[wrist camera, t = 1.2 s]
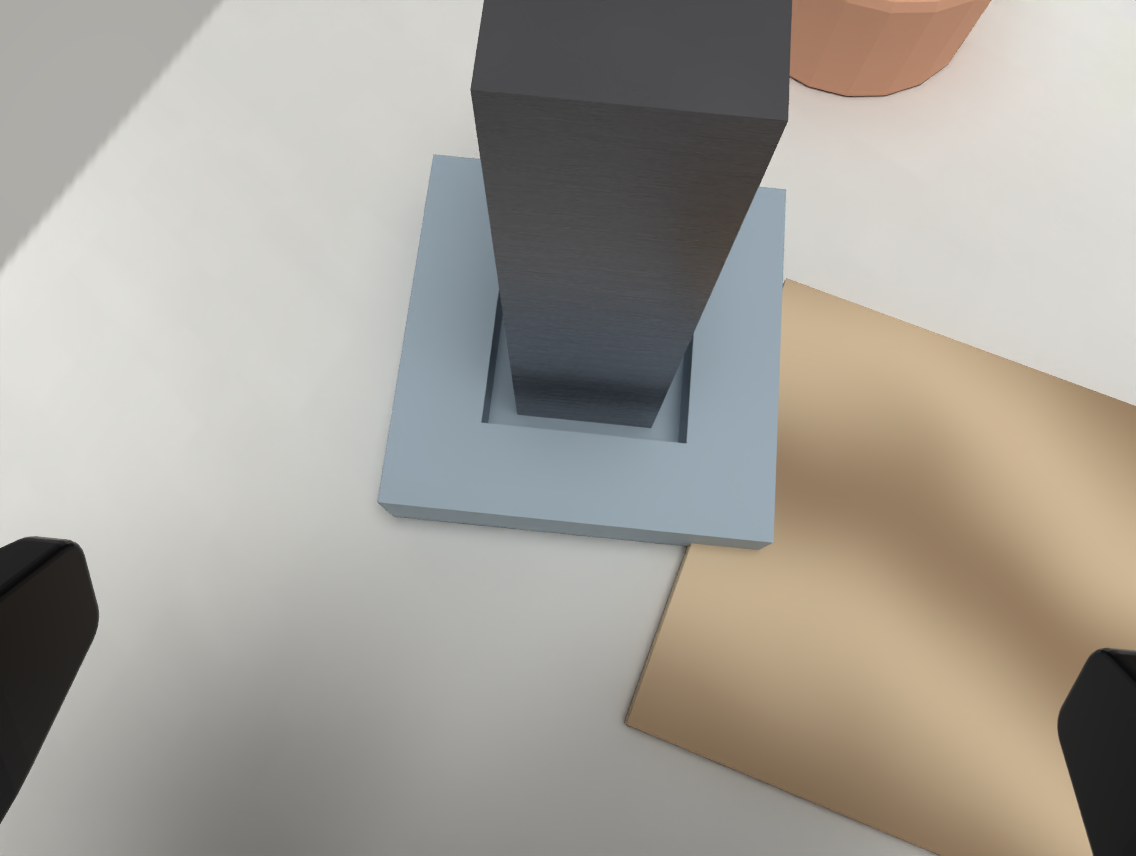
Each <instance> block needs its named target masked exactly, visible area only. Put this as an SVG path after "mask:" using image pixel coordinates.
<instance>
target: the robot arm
mask: <svg viewBox="0 0 1136 856" xmlns="http://www.w3.org/2000/svg"><path fill="white" fill-rule="evenodd" d="M98 622H99V609H98V604H97V600H96V597H95V593H94V589H93V585H92V581H91V578H90V574H89V570H88V566H87V562H86V559H85V555H84V552H83V550H82V548H81V547H80V546H79V545H78V544H77V543H76V542H73V541H71V540H67V539H57V538H47V537H38V536H34V537H25V538H22V539H19V540H17V541H15V542H13V543H10V544H8V545H6V546H4V547H2V548H0V823H1V822H2V820H3V818H4V817H5V815H6V813H7V812H8V810H9V808H10V806H11V805H12V803H13V801H14V800H15V798H16V796H17V794H18V792H19V791H20V789H21V787H22V785H23V783H24V781H25V779H26V777H27V775H28V773H29V771H30V769H31V768H32V765H33V763H34V761H35V759H36V757H37V755H38V753H39V751H40V749H41V747H42V745H43V743H44V741H45V739H46V737H47V734H48V732H49V730H50V728H51V726H52V724H53V722H54V720H55V718H56V716H57V714H58V712H59V710H60V708H61V706H62V703H63V701H64V699H65V697H66V695H67V693H68V691H69V689H70V687H71V685H72V683H73V681H74V679H75V677H76V675H77V672H78V670H79V668H80V666H81V664H82V662H83V660H84V658H85V656H86V654H87V652H88V650H89V648H90V646H91V644H92V641H93V639H94V637H95V634H96V631H97V628H98ZM1057 730H1058V737H1059V742H1060V745H1061V749H1062V752H1063V755H1064V759H1065V762H1066V766H1067V769H1068V772H1069V776H1070V779H1071V783H1072V786H1073V789H1074V793H1075V796H1076V800H1077V803H1078V806H1079V810H1080V813H1081V817H1082V820H1083V823H1084V827H1085V830H1086V834H1087V837H1088V840H1089V844H1090V847H1091V851H1092V854H1093V856H1136V650H1128V649H1119V648H1109V647H1106V648H1100V649H1097V650H1096V651H1094V652H1093V653H1092V654H1090V656H1089V657H1088V659H1087V660H1086V662H1085V664H1084V666H1083V668H1082V669H1081V671H1080V673H1079V675H1078V677H1077V679H1076V680H1075V682H1074V684H1073V686H1072V688H1071V690H1070V691H1069V693H1068V695H1067V697H1066V699H1065V700H1064V702H1063V704H1062V706H1061V708H1060V711H1059V715H1058V721H1057Z"/></svg>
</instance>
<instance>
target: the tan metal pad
mask: <svg viewBox="0 0 1136 856" xmlns="http://www.w3.org/2000/svg"><path fill="white" fill-rule="evenodd" d="M1106 647H1109V648H1119V649H1128V650H1136V406H1134V405H1131V404H1128V403H1126V402H1123V401H1120V400H1117V399H1115V398H1112V397H1109V396H1107V395H1104V394H1101V393H1098V392H1096V391H1093V390H1090V389H1087V388H1085V387H1082V386H1079V385H1076V384H1074V383H1071V382H1068V381H1066V380H1063V379H1060V378H1057V377H1055V376H1052V375H1049V374H1046V373H1044V372H1041V371H1038V370H1035V369H1033V368H1030V367H1027V366H1025V365H1022V364H1019V363H1016V362H1014V361H1011V360H1008V359H1005V358H1003V357H1000V356H997V355H994V354H992V353H989V352H986V351H984V350H981V349H978V348H975V347H973V346H970V345H967V344H964V343H962V342H959V341H956V340H953V339H951V338H948V337H945V336H943V335H940V334H937V333H934V332H932V331H929V330H926V329H923V328H921V327H918V326H915V325H913V324H910V323H907V322H904V321H902V320H899V319H896V318H893V317H891V316H888V315H885V314H882V313H880V312H877V311H874V310H872V309H869V308H866V307H863V306H861V305H858V304H855V303H852V302H850V301H847V300H844V299H841V298H839V297H836V296H833V295H831V294H828V293H825V292H822V291H820V290H817V289H814V288H811V287H809V286H806V285H803V284H800V283H798V282H795V281H792V280H790V279H787V278H786V280H785V281H784V283H783V288H782V316H781V344H780V373H779V401H778V429H777V457H776V485H775V514H774V542H773V543H772V544H770V545H768V546H766V547H764V548H762V549H760V550H753V549H743V548H733V547H723V546H714V545H704V544H694V543H691V544H690V545H689V546H688V547H687V549H686V552H685V555H684V558H683V561H682V563H681V566H680V569H679V572H678V575H677V577H676V580H675V583H674V586H673V588H672V591H671V594H670V597H669V600H668V602H667V605H666V608H665V611H664V614H663V616H662V619H661V622H660V625H659V627H658V630H657V633H656V636H655V639H654V641H653V644H652V647H651V650H650V652H649V655H648V658H647V661H646V664H645V666H644V669H643V672H642V675H641V678H640V680H639V683H638V686H637V689H636V691H635V694H634V697H633V700H632V703H631V705H630V708H629V711H628V714H627V717H626V719H625V722H624V723H625V724H626V725H628V726H631V727H633V728H636V729H638V730H640V731H643V732H645V733H648V734H650V735H652V736H655V737H657V738H660V739H662V740H664V741H667V742H669V743H672V744H674V745H676V746H679V747H681V748H684V749H686V750H688V751H691V752H693V753H696V754H698V755H700V756H703V757H705V758H707V759H710V760H712V761H715V762H717V763H719V764H722V765H724V766H727V767H729V768H731V769H734V770H736V771H739V772H741V773H743V774H746V775H748V776H751V777H753V778H755V779H758V780H760V781H763V782H765V783H767V784H770V785H772V786H775V787H777V788H779V789H782V790H784V791H787V792H789V793H791V794H794V795H796V796H799V797H801V798H803V799H806V800H808V801H811V802H813V803H815V804H818V805H820V806H823V807H825V808H827V809H830V810H832V811H835V812H837V813H839V814H842V815H844V816H847V817H849V818H851V819H854V820H856V821H859V822H861V823H863V824H866V825H868V826H871V827H873V828H875V829H878V830H880V831H883V832H885V833H887V834H890V835H892V836H895V837H897V838H899V839H902V840H904V841H906V842H909V843H911V844H914V845H916V846H918V847H921V848H923V849H926V850H928V851H930V852H933V853H935V854H938V855H940V856H1093V854H1092V851H1091V847H1090V844H1089V840H1088V837H1087V834H1086V830H1085V827H1084V823H1083V820H1082V817H1081V813H1080V810H1079V806H1078V803H1077V800H1076V796H1075V793H1074V789H1073V786H1072V783H1071V779H1070V776H1069V772H1068V769H1067V766H1066V762H1065V759H1064V755H1063V752H1062V749H1061V745H1060V742H1059V737H1058V730H1057V721H1058V715H1059V711H1060V708H1061V706H1062V704H1063V702H1064V700H1065V699H1066V697H1067V695H1068V693H1069V691H1070V690H1071V688H1072V686H1073V684H1074V682H1075V680H1076V679H1077V677H1078V675H1079V673H1080V671H1081V669H1082V668H1083V666H1084V664H1085V662H1086V660H1087V659H1088V657H1089V656H1090V654H1092V653H1093V652H1094V651H1096V650H1097V649H1100V648H1106Z"/></svg>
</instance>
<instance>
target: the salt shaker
mask: <svg viewBox="0 0 1136 856" xmlns="http://www.w3.org/2000/svg"><path fill="white" fill-rule="evenodd" d="M990 1H991V0H792V22H791V50H790V76H791V77H793V78H795V79H796V80H798V81H800V82H802V83H804V84H805V85H807V86H809V87H813V88H817V89H821V90H825V91H829V92H833V93H837V94H841V95H845V96H875V95H888V94H891V93H894V92H898V91H901V90H904V89H907V88H910V87H913V86H917V85H920V84H922V83H923V82H924V81H926V80H927V79H929V78H930V77H931V76H933V75H934V74H935V73H937V72H938V71H939V70H941V69H942V68H944V67H945V66H946V65H948V64H949V62H950V61H951V59H952V58H953V56H954V55H955V53H956V52H957V50H958V49H959V47H960V46H961V44H962V43H963V41H964V40H965V38H966V37H967V36H968V34H969V33H970V31H971V30H972V28H973V27H974V25H975V24H976V22H977V21H978V19H979V18H980V16H981V15H982V13H983V12H984V10H985V9H986V7H987V6H988V4H989V3H990Z"/></svg>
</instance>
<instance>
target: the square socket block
mask: <svg viewBox="0 0 1136 856" xmlns="http://www.w3.org/2000/svg"><path fill="white" fill-rule="evenodd" d="M785 203H786V189H777V188H766V187H758V189H757V192H756V194H755V196H754V198H753V201H752V203H751V205H750V207H749V210H748V212H747V214H746V216H745V219H744V221H743V223H742V225H741V228H740V230H739V232H738V234H737V237H736V239H735V241H734V243H733V246H732V248H731V250H730V252H729V255H728V257H727V259H726V261H725V264H724V266H723V268H722V270H721V273H720V275H719V277H718V279H717V282H716V284H715V286H714V288H713V291H712V293H711V295H710V297H709V300H708V302H707V304H706V306H705V309H704V311H703V313H702V315H701V318H700V320H699V322H698V324H697V327H696V329H695V331H694V334H693V336H692V338H691V340H690V343H689V345H688V347H687V349H686V352H685V354H684V356H683V358H682V361H681V363H680V365H679V367H678V370H677V372H676V374H675V376H674V379H673V381H672V383H671V385H670V388H669V390H668V392H667V394H666V397H665V399H664V401H663V403H662V406H661V408H660V410H659V412H658V415H657V417H656V419H655V421H654V424H653V426H652V428H643V427H634V426H624V425H614V424H604V423H594V422H584V421H574V420H564V419H555V418H545V417H535V416H525V415H517V410H516V403H515V396H514V389H513V382H512V375H511V368H510V361H509V354H508V347H507V340H506V333H505V326H504V319H503V312H502V305H501V298H500V291H499V284H498V277H497V270H496V264H495V257H494V250H493V243H492V236H491V229H490V222H489V215H488V208H487V201H486V194H485V187H484V180H483V173H482V166H481V159H474V158H464V157H454V156H443V155H433V161H432V167H431V173H430V180H429V186H428V192H427V198H426V204H425V211H424V217H423V223H422V229H421V235H420V242H419V248H418V254H417V260H416V266H415V273H414V279H413V285H412V291H411V297H410V304H409V310H408V316H407V322H406V328H405V334H404V341H403V347H402V353H401V359H400V365H399V372H398V378H397V384H396V390H395V396H394V403H393V409H392V415H391V421H390V427H389V434H388V440H387V446H386V452H385V458H384V465H383V471H382V477H381V483H380V489H379V495H378V503H379V504H380V505H381V506H382V507H384V508H385V509H386V510H387V511H388V512H389V513H390V514H392V515H393V516H397V517H406V518H416V519H426V520H436V521H445V522H455V523H465V524H475V525H485V526H494V527H504V528H514V529H524V530H533V531H543V532H553V533H563V534H572V535H582V536H592V537H602V538H611V539H621V540H631V541H641V542H651V543H660V544H670V545H680V546H689V545H690V544H691V543H694V544H704V545H714V546H723V547H733V548H743V549H753V550H760V549H762V548H764V547H766V546H768V545H770V544H772V543H773V542H774V514H775V485H776V457H777V429H778V401H779V373H780V344H781V316H782V288H783V260H784V231H785Z"/></svg>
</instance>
